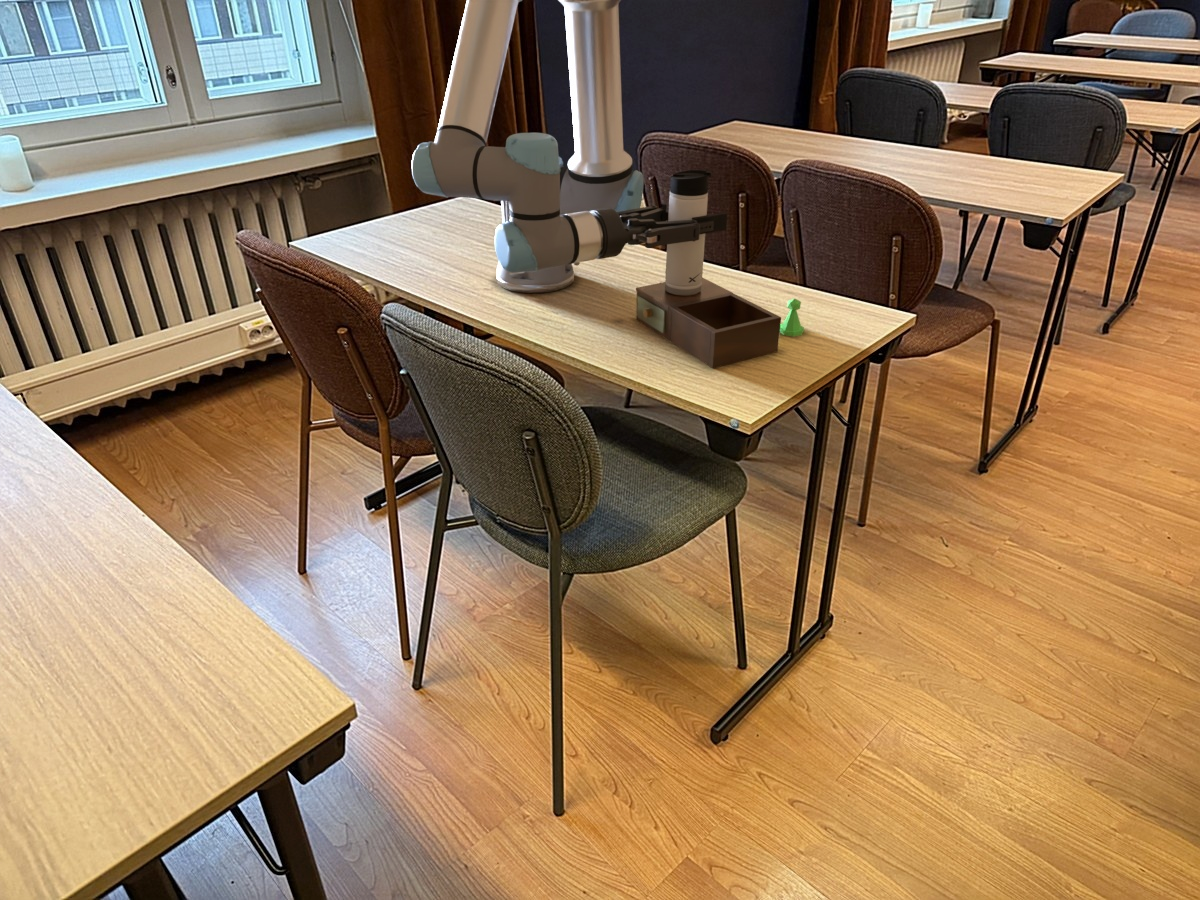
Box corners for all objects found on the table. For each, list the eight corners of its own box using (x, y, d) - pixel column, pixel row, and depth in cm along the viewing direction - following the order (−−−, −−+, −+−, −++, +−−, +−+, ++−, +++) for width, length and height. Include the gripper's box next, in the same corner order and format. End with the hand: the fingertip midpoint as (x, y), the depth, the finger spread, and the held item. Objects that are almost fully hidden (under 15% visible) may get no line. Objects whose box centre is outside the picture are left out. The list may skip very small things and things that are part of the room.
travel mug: (701, 297, 143) (710, 176, 133) (662, 294, 144) (668, 173, 134) (704, 285, 149) (713, 167, 138) (667, 282, 150) (673, 165, 140)
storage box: (629, 321, 150) (629, 288, 147) (696, 306, 156) (698, 275, 153) (705, 370, 133) (708, 334, 130) (777, 351, 139) (781, 317, 136)
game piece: (808, 331, 146) (813, 298, 143) (794, 338, 144) (798, 304, 141) (787, 324, 149) (791, 292, 146) (773, 331, 146) (776, 298, 143)
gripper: (564, 243, 142) (679, 224, 152) (623, 276, 127) (746, 253, 137) (563, 197, 138) (681, 181, 148) (624, 226, 124) (750, 206, 134)
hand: (712, 216), depth 143 cm, fingers closed on travel mug, 6 cm apart
